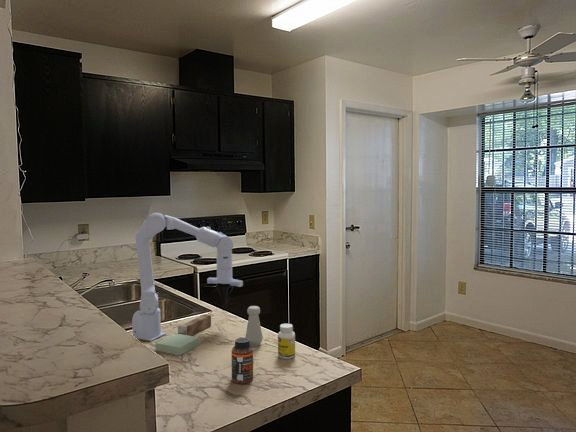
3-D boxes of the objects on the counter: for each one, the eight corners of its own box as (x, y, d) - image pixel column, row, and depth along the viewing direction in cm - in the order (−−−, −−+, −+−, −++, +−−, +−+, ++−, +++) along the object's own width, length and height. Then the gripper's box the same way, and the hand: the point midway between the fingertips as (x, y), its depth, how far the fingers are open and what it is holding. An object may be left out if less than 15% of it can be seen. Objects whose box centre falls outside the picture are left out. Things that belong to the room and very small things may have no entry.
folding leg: (183, 339, 150) (183, 328, 150) (176, 338, 152) (175, 326, 151) (211, 325, 165) (211, 314, 165) (204, 324, 167) (204, 313, 166)
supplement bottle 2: (274, 356, 136) (274, 325, 135) (286, 351, 140) (286, 321, 139) (287, 360, 132) (286, 329, 132) (298, 355, 136) (298, 325, 136)
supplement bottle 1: (244, 386, 116) (243, 345, 115) (227, 381, 119) (226, 341, 118) (257, 378, 121) (257, 338, 120) (240, 373, 124) (240, 334, 123)
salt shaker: (260, 348, 142) (259, 309, 141) (243, 347, 144) (242, 308, 143) (264, 342, 148) (264, 304, 147) (248, 341, 149) (247, 304, 148)
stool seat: (155, 350, 142) (155, 342, 141) (175, 340, 151) (175, 333, 150) (180, 355, 137) (179, 347, 137) (199, 344, 146) (199, 337, 146)
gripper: (246, 267, 161) (247, 303, 162) (214, 264, 167) (215, 299, 168) (236, 270, 155) (237, 308, 156) (203, 267, 161) (204, 303, 162)
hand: (225, 303), depth 162 cm, fingers closed
